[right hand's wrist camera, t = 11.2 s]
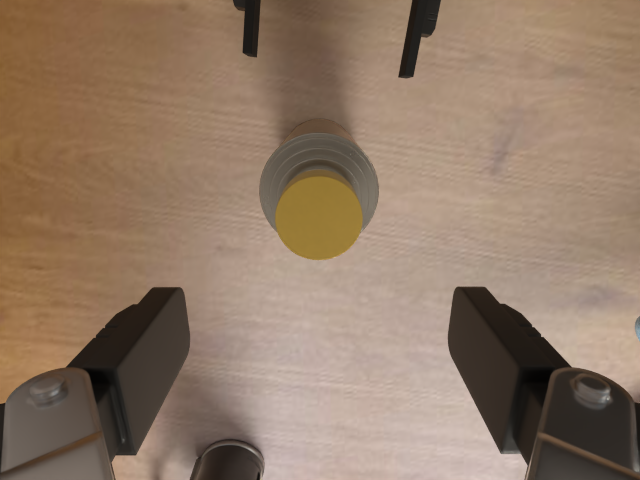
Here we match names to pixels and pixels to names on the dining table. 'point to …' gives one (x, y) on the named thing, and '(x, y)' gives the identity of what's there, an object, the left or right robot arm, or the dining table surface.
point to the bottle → (319, 165)
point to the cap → (318, 215)
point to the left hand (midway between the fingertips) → (328, 66)
